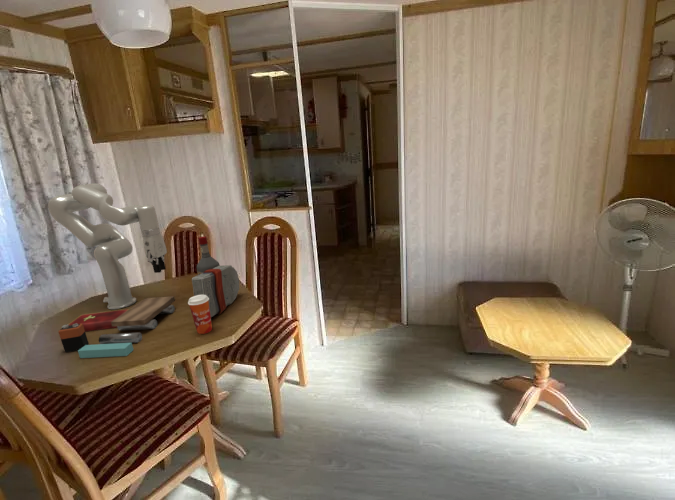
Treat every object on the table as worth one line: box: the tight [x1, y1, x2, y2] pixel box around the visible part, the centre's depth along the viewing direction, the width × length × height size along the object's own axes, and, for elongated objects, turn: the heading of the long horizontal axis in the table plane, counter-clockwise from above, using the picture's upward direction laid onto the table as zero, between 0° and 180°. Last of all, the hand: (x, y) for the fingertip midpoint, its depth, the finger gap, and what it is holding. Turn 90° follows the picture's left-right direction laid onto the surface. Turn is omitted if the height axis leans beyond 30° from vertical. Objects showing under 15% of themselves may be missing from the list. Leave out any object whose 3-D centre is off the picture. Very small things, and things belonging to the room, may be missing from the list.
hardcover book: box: [67, 308, 130, 333], centre depth 159 cm, size 12×21×4 cm, turn 96°
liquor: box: [196, 236, 221, 276], centre depth 175 cm, size 9×9×30 cm
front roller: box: [116, 318, 158, 332], centre depth 151 cm, size 15×4×4 cm, turn 86°
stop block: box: [77, 343, 134, 359], centre depth 132 cm, size 18×4×3 cm, turn 86°
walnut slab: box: [111, 295, 176, 327], centre depth 157 cm, size 14×24×2 cm, turn 176°
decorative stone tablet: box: [191, 265, 240, 318], centre depth 162 cm, size 19×6×30 cm
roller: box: [98, 331, 143, 344], centre depth 140 cm, size 15×4×4 cm, turn 86°
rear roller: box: [158, 304, 176, 315], centre depth 165 cm, size 15×4×4 cm, turn 86°
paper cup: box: [187, 295, 213, 335], centre depth 142 cm, size 8×8×14 cm
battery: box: [57, 323, 90, 353], centre depth 138 cm, size 4×7×10 cm, turn 103°
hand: (160, 270), depth 170 cm, fingers open, 3 cm apart
